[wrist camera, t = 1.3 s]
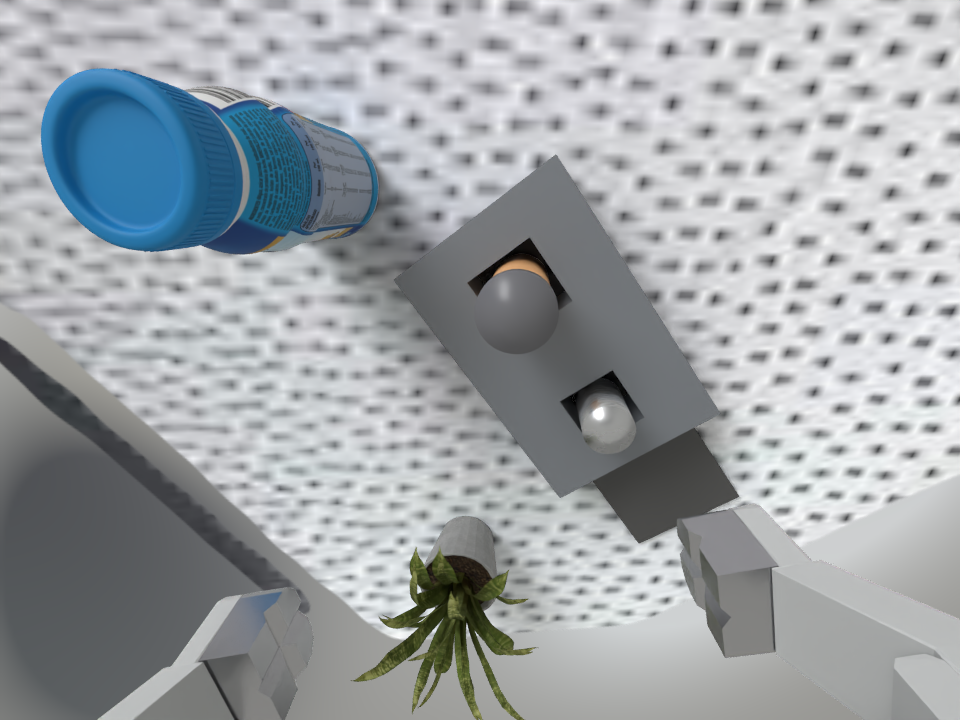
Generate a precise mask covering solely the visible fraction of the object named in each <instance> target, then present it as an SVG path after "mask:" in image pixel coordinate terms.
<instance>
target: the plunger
mask: <svg viewBox="0 0 960 720" xmlns="http://www.w3.org/2000/svg"><path fill="white" fill-rule="evenodd" d="M576 406H577V410H578V415H579V420H580V424H581V429H582V434H583V438H584V440H585V442H586V444H587V445H588V446H589V447H590V448H591V449H593V450H594V451H596V452H599V453H603V454H614V453H618V452H621V451H623V450H624V449H626V448H627V447H628V446H629V445H630V444H631V443H632V442H633V440H634V438H635V435H636V425H635V422H634V420H633V418H632V415H631V413H630V411H629V409H628V407H627V405H626V403H625V400H624V398H623V396H622V394H621V392H620V390H619V388H618V387H617V385H616V384H615V383H613V382H612V381H610V380H608V379H604V378H599V379H597V380H595V381H593V382H592V383H590V384H588V385H587V386H585V387H583V388H582V389H580V390H578V391H577V394H576Z"/></svg>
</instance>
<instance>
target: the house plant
mask: <svg viewBox="0 0 960 720" xmlns="http://www.w3.org/2000/svg"><path fill="white" fill-rule="evenodd" d="M508 571H509V570H508ZM508 571H507V572H506V573H504V574H502V575H499V576H497V571H496V562H495V552H494V543H493V536H492V532H491V530H490V529H489V527H488V526H487V525H486V524H485V523H484V522H482V521H481V520H479V519H477V518H474V517H469V516H462V517H457V518H454V519H452V520H451V521H449V522H448V523H447V524H446V526H445V527H444V529H443V531H442V533H441V534H440V536H439V538H438V540H437V542H436V544H435V546H434V547H433V549H432V551H431V553H430V555H429V557H428V558H427V560H426V562H425V564H423V562H422V561H421V559H420V558H419V556H418V553H417V547H416V549H415V552H414V555H413V557H412V559H411V561H410V572H411V575H412V578H411V581H410V594H411V598H412V599H413V601H414V602H415V603H416V604H417V606H416V607H414V608H412V609H410V610H409V611H407V612H405V613H403V614H401V615H399V616H397V617H395V618H392V619H391V618H389V617H387V616H385V617H387V618H389V619H388V620H387V619H381V618H380V617H379V618H380V620H381V621H382V622H383V623H384V624H385V625H386V626H388V627H390V628H396V629H399V628H404V627H412V628H417V627H419V628H418V629H417V630H416V631H415V632H414V633H413V634H411V635H410V636H409V637H408V638H407V639H406V640H404V641H403V642H402V643H401V644H399V645H398V646H397V647H395V648H394V649H392V650H391V651H390V652H388V653H387V655H386V656H385V657H384V658H383V659H382V661H381V662H380V663H379V664H378V665H377V666H376V667H375V668H373V669H371V670H370V671H368V672H366V673H364V674H362V675H361V676H360V677H359V678H357V679H356V680H354V681H357V682H359V681H367V680H372V679H375V678H377V677H379V676H382V675H384V674H386V673H387V672H389V671H390V670H392V669H393V668H395V667H396V666H397V665H399V664H400V663H401V662H403V661H404V660H406V659H407V658H408V657H410V656H411V655H412V654H413V653H414V652H416V651H417V650H418V649H419V648H420V646H421V645H422V643H423V642H424V640H425V639H426V637H427V636H428V635H429V634H430V633H431V632H432V630H433V629H434V628H435V627H436V626H437V625H438V624H439V623H440V621H441V620H442V619H443V620H442V622H441V624H440V625H439V627H438V629H437V631H436V633H435V635H434V637H433V640H432V642H431V645H430V647H429V650H428V652H427V653H425V654H422V655H419V656H417V657H415V658H413V659H411V660H409V661H413V660H420V659H423V658H425V659H424V661H423V663H422V665H421V668H420V671H419V673H418V677H417V681H416V685H415V690H414V696H413V706H412V712H413V711H414V709H415V707H416V705H417V703H418V700H419V697H420V694H421V692H422V691H423V689H424V687H425V685H426V683H427V679H428V676H429V673H430V670H431V667H432V665H433V662H434V670H435V673H437V675H436V678H435V681H434V683H433V685H432V687H431V689H430V691H429V692H428V694H427V696H426V697H425V699H424V700H423V702H422V704H421V705H420V706H419V707H421V706H422V705H423V704H424V703H425V702H426V701H427V700H428V699H429V698H430V696H431V694H432V693H433V691H434V689H435V687H436V686H437V683H438V681H439V678H440V675H441V673H445V672H447V671H448V670H449V668H450V666H451V662H452V654H453V643H454V642H455V656H456V664H457V673H458V678H459V682H460V685H461V688H462V690H463V694H464V696H465V699H466V700H467V703H468V705H469V707H470V709H471V711H472V714H473V716H474V717H475V718H476V719H477V720H478V718H479V719H480V720H482V717H481V714H480V712H479V710H478V707H477V705H476V702H475V697H474V688H473V684H472V680H471V677H470V673H469V660H468V654H467V644H466V623H467V625H468V629H469V632H470V635H471V638H472V641H473V644H474V646H475V649H476V651H477V654H478V656H479V658H480V660H481V663H482V666H483V668H484V671H485V673H486V676H487V678H488V681H489V683H490V685H491V688H492V690H493V692H494V694H495V696H496V698H497V699H498V701H499V702H500V704H501V706H502V707H503V708H504V709H505V710H506V711H507V712H508V713H509V714H510V715H511V716H513V717H514V718H515V719H517V720H524V719H523V718H522V717H520V715H518V713H517V712H516V711H515V710H514V709H513V708H512V707H511V705H510V704H509V703H508V702H507V700H506V698H505V697H504V695H503V694H502V692H501V690H500V688H499V686H498V684H497V681H496V679H495V677H494V674H493V672H492V670H491V667H490V666H489V663H488V662H487V660H486V658H485V655H484V653H483V651H482V648H481V646H480V644H479V641H478V639H477V636H476V633H477V634H478V635H479V636H480V637H481V638H482V639H483V640H484V641H485V643H486V644H487V646H488V647H489V648H490V650H491V651H492V652H494V653H495V654H497V655H525V654H529V653H532V652H529V651H531V650H532V649H534V648H527V649H519V650H513V645H514V642H513V640H512V639H511V638H510V637H509V636H507V635H506V634H504V633H503V632H501V631H499V630H498V629H497V628H495V627H494V626H493V625H492V624H491V623H490V621H489V620H488V618H487V617H486V616H485V613H484V610H486V609H488V608H489V607H490V606H491V605H492V603H493V602H494V601H495V599H496V598H497V599H499V600H500V601H502V602H504V603H506V604H518V603H522V602H525V601H526V600H528V599H516V600H512V599H506V598H502V597H500V596H499V595H500V594H501V593H502V592H503V590H504V588H505V584H506V579H507V575H508ZM417 584H418V585H419V586H420V588H421V591H422V593H419V594H417ZM433 607H435V609H434V610H433V611H432V612H431V613H430V614H429V615H427V617H426V616H424V617H419V616H420V615H421V614H422V613H424V612H425V611H426V609H429V608H433ZM383 616H384V615H383ZM425 617H426V618H425ZM443 617H444V618H443ZM424 618H425V619H424ZM422 619H424V620H423V621H421V620H422ZM419 621H421V622H419ZM418 622H419V623H418ZM474 630H475V631H476V633H475V631H474ZM454 636H455V641H454ZM434 660H435V661H434Z"/></svg>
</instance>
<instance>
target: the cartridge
mask: <svg viewBox="0 0 960 720" xmlns="http://www.w3.org/2000/svg"><path fill="white" fill-rule="evenodd" d="M474 317H475V323H476V326H477V329H478V331H479V333H480V334H481V336H482V337H483V339H484V340H485V341H486V342H487V343H488V344H489V345H491V346H492V347H493V348H495V349H497V350H499V351H501V352H504V353H508V354H525V353H529V352H532V351H534V350H536V349H538V348H540V347H541V346H543V345H544V344H545V343H546V342H547V341H548V340H549V339H550V338H551V336H552V335H553V333H554V331H555V329H556V326H557V323H558V318H559V309H558V303H557V299H556V296H555V293H554V291H553V289H552V287H551V286H550V282H549V277H548V273H547V270H546V268H545V266H544V265H543V263H542V262H541V261H540V260H539V259H537V258H536V257H534V256H532V255H529V254H523V253H521V254H514V255H511V256H509V257H508V258H506V259H505V260H503V261H502V263H501V264H500V265H499V266H498V268H497V270H496V272H495V274H494V275H493V277H492V278H491V279H490V280H489V281H488V282H487V283H486V284H485V285H484V287H483V288H482V290H481V291H480V293H479V295H478V297H477V300H476V303H475V310H474Z"/></svg>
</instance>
